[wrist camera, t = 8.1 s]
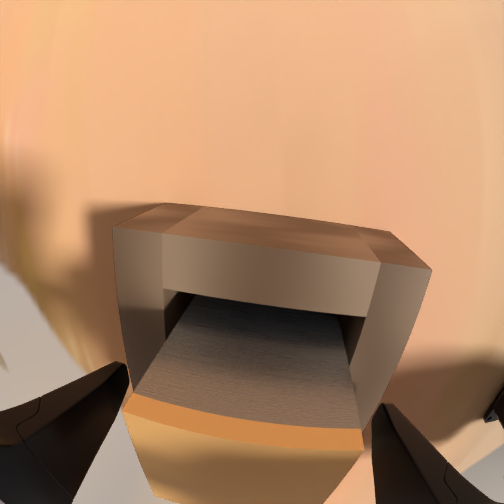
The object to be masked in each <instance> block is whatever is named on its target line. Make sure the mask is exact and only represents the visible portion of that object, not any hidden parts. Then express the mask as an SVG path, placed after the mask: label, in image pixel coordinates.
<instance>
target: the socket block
mask: <svg viewBox="0 0 504 504" xmlns="http://www.w3.org/2000/svg"><path fill="white" fill-rule="evenodd" d="M112 233H113V252H114V266H115V278H116V288H117V297H118V306H119V313H120V321H121V328H122V334H123V340H124V346H125V352H126V357H127V363H128V368H129V373H130V378H131V382H132V387H133V391H134V390H135V389H136V387H137V385H138V384H139V382H140V381H141V379H142V377H143V376H144V374H145V373H146V371H147V370H148V368H149V366H150V365H151V363H152V362H153V360H154V359H155V357H156V355H157V354H158V352H159V351H160V349H161V348H162V346H163V344H164V343H165V341H166V340H167V338H168V337H169V335H170V334H171V332H172V330H173V329H174V327H175V326H176V324H177V323H178V321H179V320H180V318H181V317H182V315H183V314H184V312H185V311H186V309H187V307H188V306H189V304H190V303H191V301H192V300H193V298H194V297H195V295H196V294H198V295H204V296H210V297H216V298H222V299H229V300H235V301H242V302H248V303H255V304H262V305H269V306H277V307H284V308H292V309H299V310H307V311H316V312H324V313H333V314H337V316H338V320H339V324H340V328H341V332H342V337H343V341H344V346H345V350H346V355H347V359H348V364H349V369H350V373H351V378H352V383H353V388H354V393H355V399H356V404H357V410H358V415H359V421H360V427H361V433H362V432H363V430H364V429H365V427H366V425H367V423H368V422H369V420H370V418H371V416H372V414H373V413H374V411H375V409H376V407H377V405H378V403H379V401H380V400H381V398H382V396H383V394H384V392H385V390H386V388H387V386H388V384H389V382H390V380H391V377H392V375H393V373H394V371H395V369H396V367H397V365H398V362H399V360H400V358H401V355H402V353H403V351H404V348H405V346H406V344H407V341H408V339H409V336H410V334H411V331H412V329H413V326H414V323H415V321H416V318H417V315H418V313H419V310H420V307H421V304H422V301H423V298H424V295H425V292H426V289H427V286H428V283H429V279H430V276H431V273H432V269H431V268H430V267H429V266H428V265H427V264H426V263H425V262H423V261H422V260H421V259H420V258H419V257H418V256H417V255H416V254H415V253H414V252H413V251H411V250H410V249H409V248H408V247H407V246H406V245H405V244H404V243H402V242H401V241H400V240H399V239H398V238H397V237H396V236H394V235H393V234H392V233H391V232H389V231H383V230H377V229H370V228H364V227H358V226H352V225H345V224H338V223H332V222H325V221H318V220H311V219H304V218H296V217H289V216H281V215H274V214H266V213H258V212H249V211H241V210H232V209H223V208H214V207H205V206H195V205H185V204H174V203H165V204H162V205H160V206H158V207H155V208H153V209H151V210H149V211H146V212H144V213H142V214H140V215H137V216H135V217H133V218H131V219H129V220H126V221H124V222H122V223H120V224H118V225H116V226H114V227H112Z"/></svg>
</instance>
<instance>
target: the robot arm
mask: <svg viewBox="0 0 504 504" xmlns="http://www.w3.org/2000/svg"><path fill="white" fill-rule="evenodd" d="M128 386H129V375H128V371H127V366H126V365H125V364H124V363H121V362H117V361H115V362H112V363H110V364H108V365H106V366H104V367H102V368H100V369H98V370H96V371H94V372H92V373H90V374H88V375H86V376H83V377H81V378H79V379H77V380H75V381H73V382H71V383H69V384H67V385H65V386H62V387H60V388H58V389H56V390H54V391H51V392H49V393H47V394H45V395H43V396H41V397H38V398H36V399H34V400H31V401H29V402H27V403H24V404H22V405H19V406H16V407H13V408H10V409H7V410H4V411H0V504H72V502H73V499H74V497H75V495H76V493H77V491H78V489H79V487H80V485H81V483H82V481H83V479H84V478H85V476H86V473H87V471H88V469H89V468H90V466H91V464H92V462H93V460H94V458H95V456H96V454H97V452H98V450H99V449H100V446H101V445H102V443H103V441H104V439H105V437H106V435H107V433H108V432H109V430H110V428H111V426H112V424H113V422H114V420H115V418H116V416H117V414H118V411H119V409H120V406H121V404H122V401H123V399H124V396H125V394H126V391H127V389H128ZM483 420H484V422H485V423H487V422H492V421H496V420H499V422H500V423H501V425H502V427H503V429H504V388H503V389H502V391H501V392H500V394H499V395H498V397H497V398H496V400H495V401H494V403H493V404H492V406H491V407H490V409H489V410H488V411H487V413H486V414H485V416H484V417H483ZM372 466H373V475H374V486H375V498H376V504H504V503H498V502H495V501H493V500H491V499H490V498H488V497H487V496H486V495H485V494H483V493H482V492H481V491H479V490H478V489H477V488H476V487H475V486H473V485H472V484H471V483H470V482H469V481H468V480H466V479H465V478H464V477H463V476H462V475H461V474H460V473H459V472H458V471H457V470H456V469H455V468H454V467H453V466H452V465H451V464H450V463H449V462H447V460H446V459H445V458H444V457H443V456H442V455H441V454H440V453H439V452H438V451H437V450H436V449H435V447H434V446H433V445H432V444H431V443H430V442H429V441H428V440H427V439H426V438H425V437H424V436H423V435H422V434H421V433H420V432H419V431H418V430H417V429H416V428H415V426H414V425H413V424H412V423H411V422H410V421H409V420H408V419H407V418H406V417H405V416H404V415H403V414H402V413H401V412H400V411H399V410H398V409H397V408H396V407H395V405H394V404H392V403H381V404H380V405H379V407H378V409H377V411H376V412H375V414H374V416H373V418H372Z"/></svg>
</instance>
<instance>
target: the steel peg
mask: <svg viewBox="0 0 504 504" xmlns="http://www.w3.org/2000/svg"><path fill="white" fill-rule="evenodd" d="M122 413H123V416H124V420H125V422H126V426H127V429H128V431H129V434H130V437H131V440H132V443H133V445H134V448H135V451H136V453H137V456H138V458H139V461H140V464H141V466H142V468H143V471H144V473H145V475H146V478H147V480H148V482H149V485H150V487H151V489H152V491H153V493H154V496H156V497H159V498H162V499H166V500H169V501H172V502H176V503H180V504H323V503H324V502H325V501H326V499H327V498H328V497H329V496H330V495H331V493H332V492H333V491H334V490H335V489H336V487H337V486H338V485H339V484H340V482H341V481H342V480H343V478H344V477H345V476H346V474H347V473H348V472H349V470H350V469H351V468H352V466H353V465H354V464H355V462H356V461H357V459H358V458H359V457H360V455H361V454H362V452H363V451H364V445H363V439H362V433H361V427H360V421H359V415H358V410H357V404H356V399H355V393H354V388H353V383H352V378H351V373H350V369H349V364H348V359H347V355H346V350H345V346H344V341H343V337H342V332H341V328H340V324H339V320H338V316H337V314H333V313H324V312H316V311H307V310H299V309H292V308H284V307H277V306H269V305H262V304H255V303H248V302H242V301H235V300H229V299H222V298H216V297H210V296H204V295H198V294H196V295H195V297H194V298H193V300H192V301H191V303H190V304H189V306H188V307H187V309H186V311H185V312H184V314H183V315H182V317H181V318H180V320H179V321H178V323H177V324H176V326H175V327H174V329H173V330H172V332H171V334H170V335H169V337H168V338H167V340H166V341H165V343H164V344H163V346H162V348H161V349H160V351H159V352H158V354H157V355H156V357H155V359H154V360H153V362H152V363H151V365H150V366H149V368H148V370H147V371H146V373H145V374H144V376H143V377H142V379H141V381H140V382H139V384H138V385H137V387H136V389H135V390H134V392H133V393H132V395H131V397H130V398H129V400H128V401H127V403H126V405H125V406H124V408H123V410H122Z"/></svg>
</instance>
